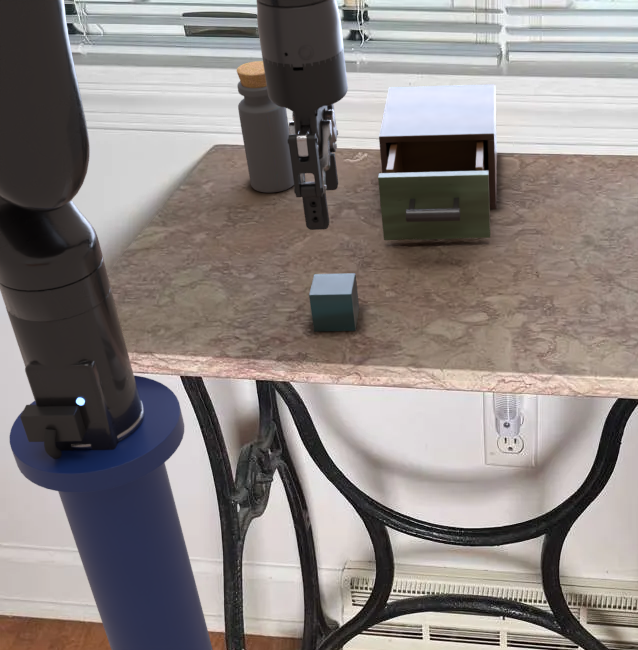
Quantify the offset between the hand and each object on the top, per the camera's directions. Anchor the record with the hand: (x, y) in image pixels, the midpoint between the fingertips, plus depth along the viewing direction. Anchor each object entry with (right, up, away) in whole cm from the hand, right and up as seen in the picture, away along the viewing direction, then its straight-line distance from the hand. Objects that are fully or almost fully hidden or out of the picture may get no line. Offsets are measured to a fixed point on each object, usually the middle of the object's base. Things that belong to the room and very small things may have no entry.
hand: (323, 208), depth 119 cm
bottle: (-11, +11, +34) cm, 37 cm away
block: (+1, -10, +7) cm, 13 cm away
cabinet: (+11, +11, +32) cm, 36 cm away
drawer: (+11, +4, +23) cm, 25 cm away
